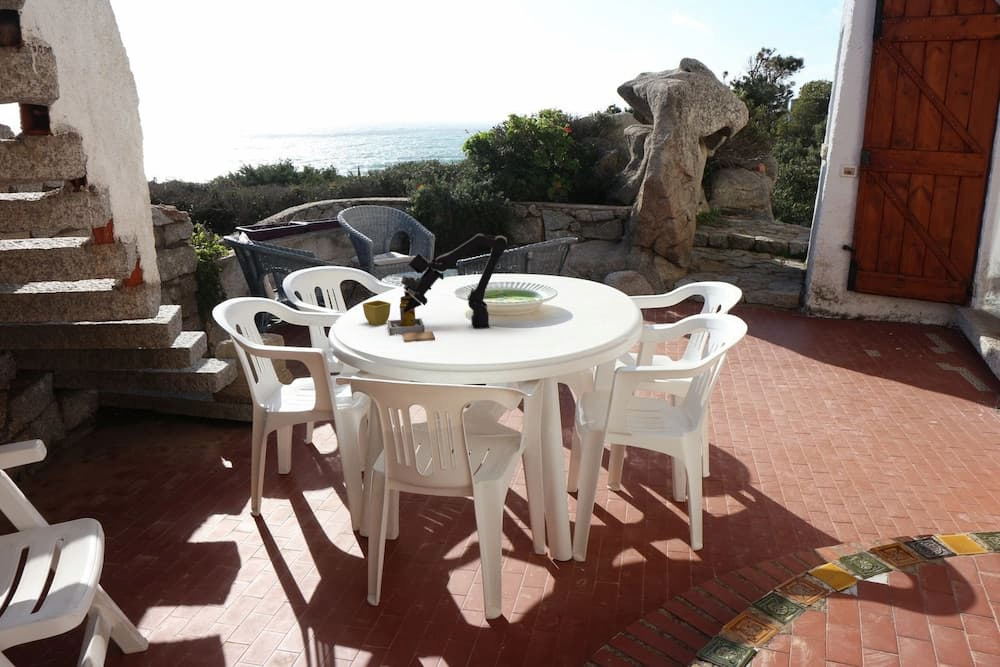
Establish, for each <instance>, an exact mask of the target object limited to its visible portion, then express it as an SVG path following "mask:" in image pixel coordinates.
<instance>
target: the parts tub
mask: <svg viewBox="0 0 1000 667" xmlns="http://www.w3.org/2000/svg"><path fill="white" fill-rule="evenodd" d="M400 323H401V319H390V320H387V328H389V329H388V333H390V334H389V336H396V335H395V334H403V333H412V332H426V331H425V324H424V322H423V319H422V317H420V318H415V324H418V325H419V326H407V327H396V326H394V324H400Z"/></svg>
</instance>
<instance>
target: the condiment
mask: <svg viewBox="0 0 1000 667" xmlns="http://www.w3.org/2000/svg"><path fill="white" fill-rule="evenodd" d="M399 300H400V304H399V307H400V308H399V313H400V314H399V316H400V320H401V323H400V324H394V326H396V327H407V326H419V325H418V324H415V319H416V308H414V309H411V310H409V311H407V312H403V310H404V308H405V306H406V305H407V303H408V302H409V300H410V296H405V295H403V296H400V298H399Z"/></svg>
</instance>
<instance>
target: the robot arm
mask: <svg viewBox="0 0 1000 667" xmlns="http://www.w3.org/2000/svg"><path fill="white" fill-rule="evenodd" d="M480 245H481V246H485V247H488V248H490V249H491V251H490V254H489V258H488V259H487V262H486V264H485V267H484V269H483V271H482V274H481V276H480V279H479V281H478V283H477V286H475V288H471V290H470V293H469V295H468V296H467V303H468V304H467V305H468V307H469V308H470V309H471V310H472V315H471V321H470V322H471V324H470V325H471V326H472V327H473V329H485V328H486V327H488V328H490V327H491V326H490V318H489V310H488V304H487V303H486V302H485V301H484V297H485V292H486V289H487V287H488V285H489V282H490V280H491V278H492V276H493V274H494V271H495V269H496V266H497V264H498V261H499V259H500V258H501V257H502V256H503V254H504V253H505V251H506V250H507V248H508V240H507V238H506V236H504V235H496V236H495V235H488V234H483V233H477V234H475V235H474V236H473V237H472V238H471V239H469V240H468V241H466V242H464V243H462V244H461V245H459V246H458V247H457V248H455V249H453V250H452V251H449V252H446V253H444V254H441V255H439V256H438V257H436V258H435V259H429V260H428V259H427V258H425V257H424V255H422V254H421V253H420V252H418V253H417V254H416V255H415V256H414V257H413V258H412V259H411V260H410V261H409V262H408V263H407V266H408V267H410V269H411V270H413V271H414V272H415V273H417V274H422V275H421V276H420V277H417V278H416V277H412V276H406V275H403V276H402V278H401V281H400V283H401V284H402V285H404V286H403V287H402V288H403V289H404V290H403V292H404V296H410V300H409V302H408V303H407V305H406V306H405V308H404V310H403V312H407V311H409V310H411V309H414V308H415V309H416V308H417V307H421V306H422V305H423V306H426V305H427V303H428V298H427V297H426V296H425V295H426V294H427V292H428V291H431V290H432V287H433V285H434V284H435V283H436V281H438V279H440V280H442V281H443V280H444V279H445V278H444V275H445V274H444V272H445V271H447V270H448V269H449V268H450V267H452V265H453V264H454V263H455V262H456V261H458V260H459V259H461V258H462V257H463V256H465V255H466V254H467V253H470V252H471V251H472V250H474V249H475V248H478V246H480ZM415 278H416V279H415ZM398 307H399V309H400V306H398ZM486 329H487V328H486Z"/></svg>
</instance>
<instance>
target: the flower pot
mask: <svg viewBox="0 0 1000 667" xmlns="http://www.w3.org/2000/svg"><path fill="white" fill-rule="evenodd" d="M391 304H392V303H391V302H387V301H384V300H379V299H378V300H373V301H368V302H364V303H362V308H363V314H364V317H365V318H366V321H367V322H368V323H369V324H370V323H371V324H372V325H373V326H380V325H383V323H384V324H386V323H388V319H389V318H390V313H391ZM371 324H370V325H371ZM379 324H380V325H379Z"/></svg>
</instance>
